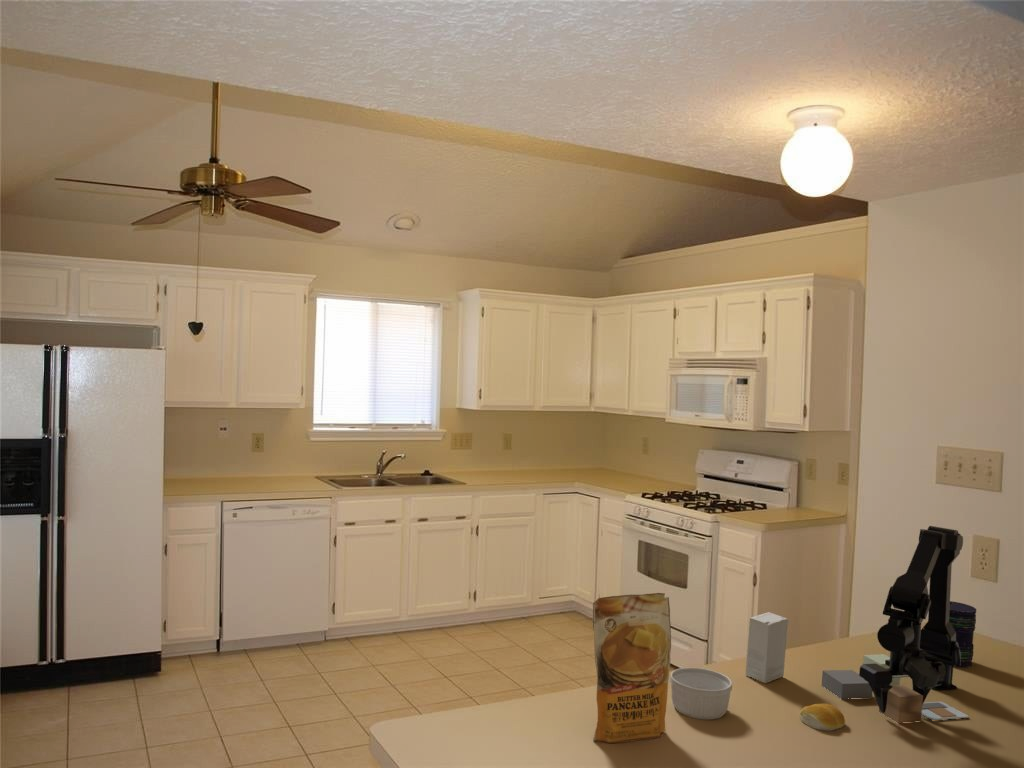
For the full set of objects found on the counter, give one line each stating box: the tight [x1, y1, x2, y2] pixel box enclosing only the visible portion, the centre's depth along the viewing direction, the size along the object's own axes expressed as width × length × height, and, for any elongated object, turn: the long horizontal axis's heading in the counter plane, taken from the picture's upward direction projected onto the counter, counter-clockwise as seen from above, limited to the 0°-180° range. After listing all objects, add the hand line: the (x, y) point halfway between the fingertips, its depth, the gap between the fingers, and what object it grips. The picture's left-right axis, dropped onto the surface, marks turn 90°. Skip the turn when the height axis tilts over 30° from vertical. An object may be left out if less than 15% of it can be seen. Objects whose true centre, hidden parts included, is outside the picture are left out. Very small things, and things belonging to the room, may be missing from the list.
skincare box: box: [745, 611, 789, 684], centre depth 201 cm, size 8×6×15 cm
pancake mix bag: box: [592, 592, 672, 744], centre depth 165 cm, size 7×19×28 cm, turn 111°
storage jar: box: [949, 600, 977, 669], centre depth 222 cm, size 10×10×15 cm
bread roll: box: [799, 703, 846, 732], centre depth 177 cm, size 8×9×4 cm
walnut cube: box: [878, 684, 923, 724], centre depth 182 cm, size 6×6×6 cm
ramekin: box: [669, 667, 733, 721], centre depth 180 cm, size 13×13×7 cm
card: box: [921, 701, 970, 721], centre depth 186 cm, size 10×8×1 cm
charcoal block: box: [821, 669, 873, 700], centre depth 195 cm, size 8×8×4 cm
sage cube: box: [862, 653, 901, 685], centre depth 202 cm, size 6×6×6 cm
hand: (900, 711), depth 182 cm, fingers open, 9 cm apart
